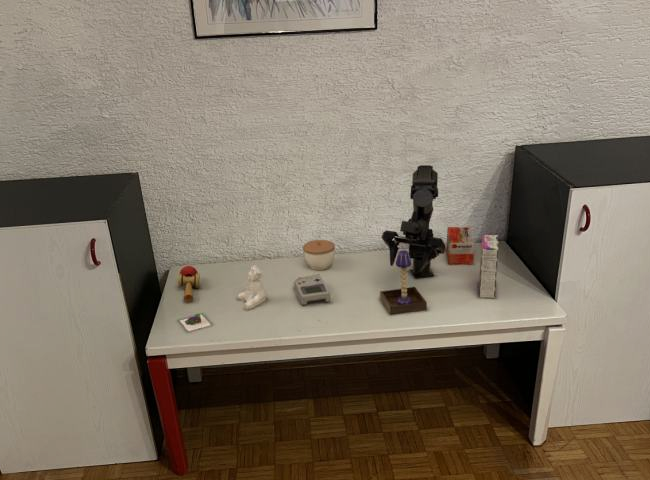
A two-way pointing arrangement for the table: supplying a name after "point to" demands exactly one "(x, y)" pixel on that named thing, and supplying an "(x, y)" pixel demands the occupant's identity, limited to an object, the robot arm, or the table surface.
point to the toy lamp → (403, 275)
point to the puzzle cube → (195, 322)
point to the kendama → (188, 281)
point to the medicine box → (460, 245)
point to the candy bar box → (488, 266)
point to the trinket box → (319, 254)
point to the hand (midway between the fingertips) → (405, 268)
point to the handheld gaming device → (311, 289)
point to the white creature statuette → (253, 289)
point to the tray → (393, 307)
